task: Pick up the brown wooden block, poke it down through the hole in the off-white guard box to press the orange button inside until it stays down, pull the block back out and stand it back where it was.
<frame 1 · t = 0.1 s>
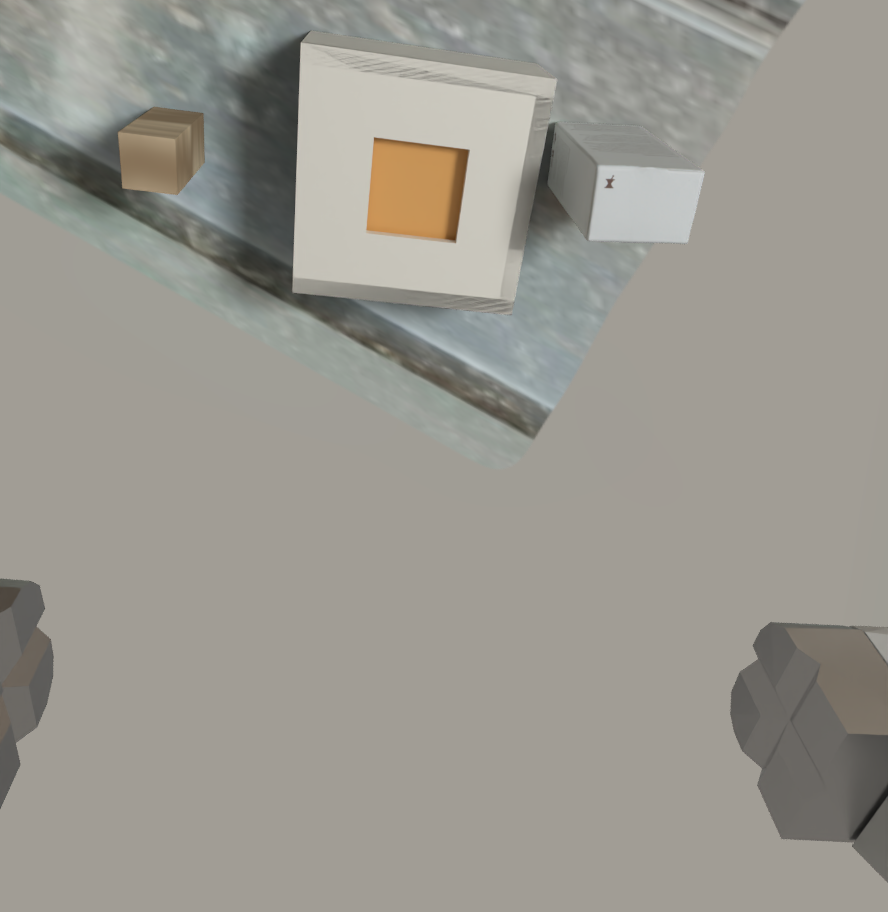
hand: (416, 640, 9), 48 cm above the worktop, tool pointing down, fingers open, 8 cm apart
guard box: (413, 164, 52), on the worktop
skincare box: (593, 155, 53), on the worktop
brown wooden block: (179, 135, 50), on the worktop
button: (415, 182, 48), point 5 cm above the worktop, slide at 0.0 cm
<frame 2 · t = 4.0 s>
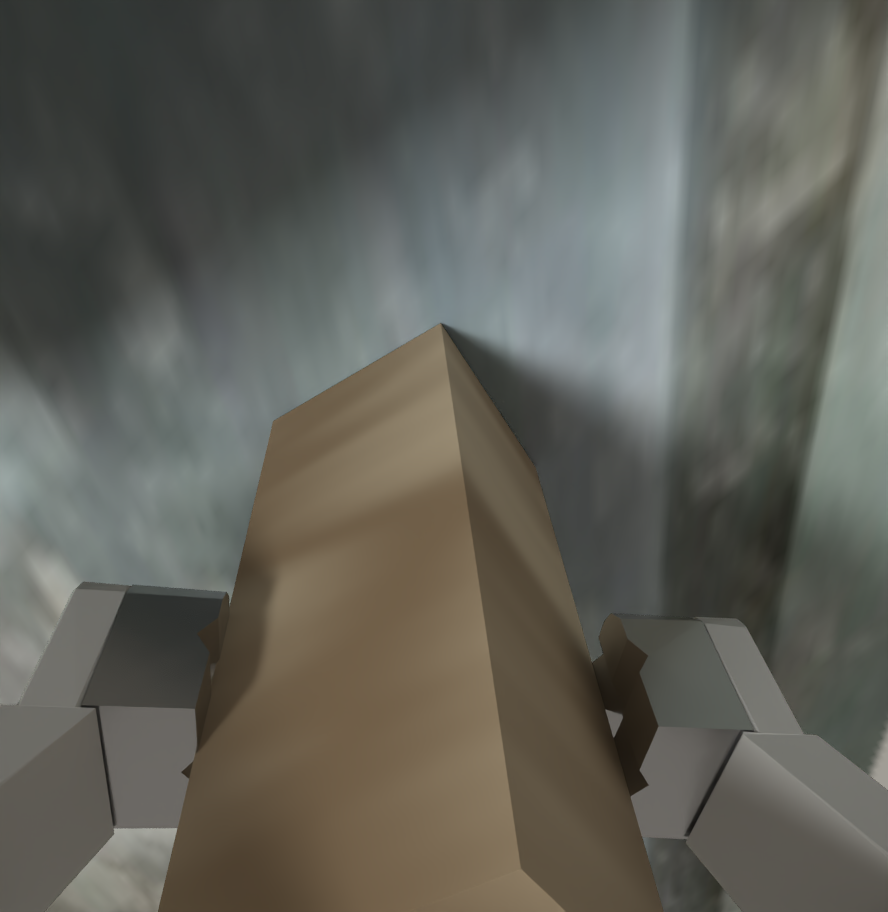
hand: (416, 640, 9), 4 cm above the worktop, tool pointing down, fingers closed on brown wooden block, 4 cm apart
brown wooden block: (408, 445, 12), on the worktop, touching gripper
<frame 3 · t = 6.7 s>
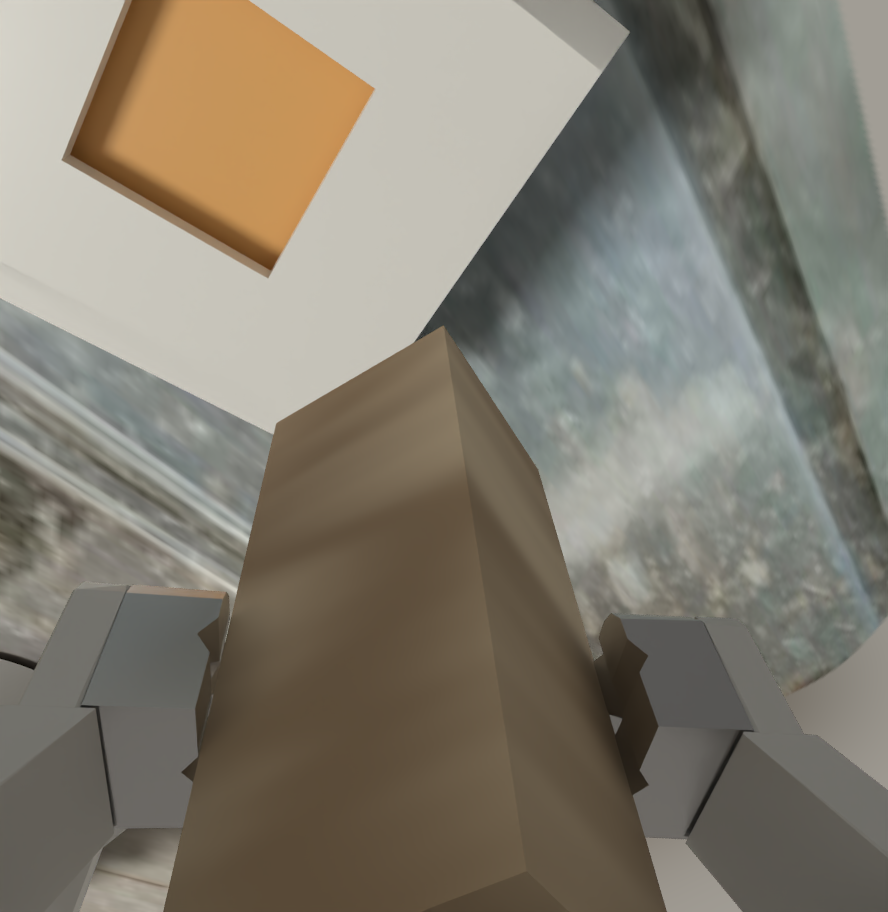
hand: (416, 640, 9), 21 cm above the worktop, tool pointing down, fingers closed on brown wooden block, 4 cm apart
guard box: (258, 82, 25), on the worktop
brown wooden block: (411, 447, 12), point 17 cm above the worktop, touching gripper
button: (233, 107, 21), point 5 cm above the worktop, slide at 0.0 cm
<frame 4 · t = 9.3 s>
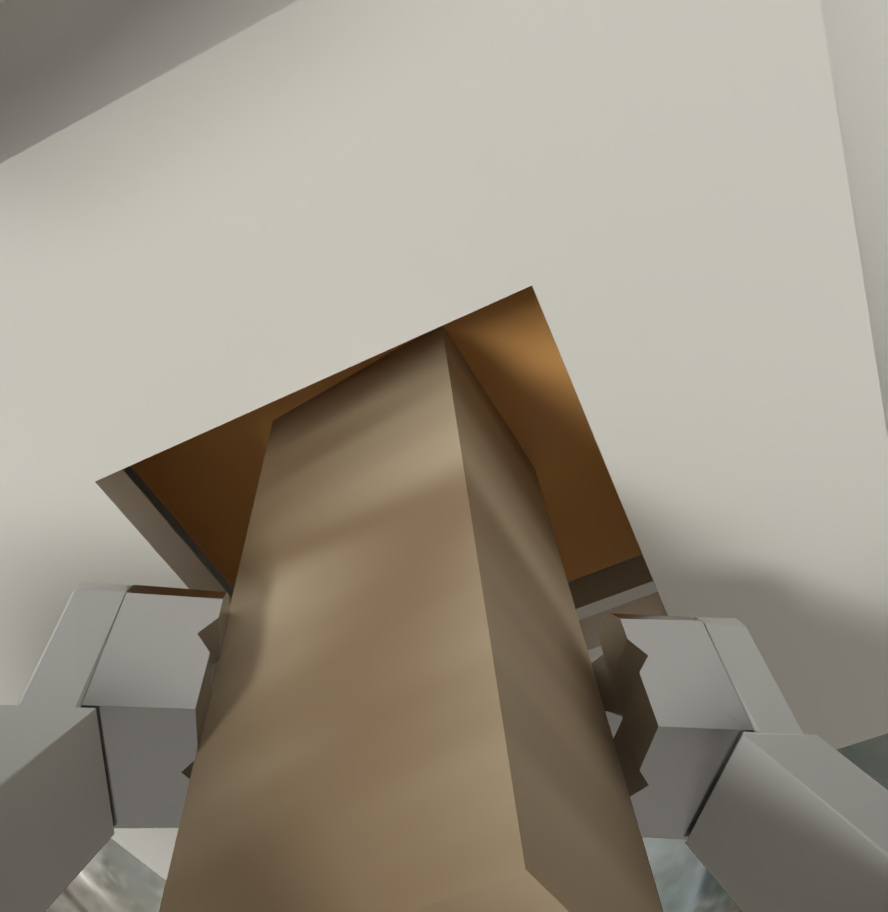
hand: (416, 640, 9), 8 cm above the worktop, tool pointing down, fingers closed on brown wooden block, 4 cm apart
guard box: (399, 332, 16), on the worktop
brown wooden block: (408, 445, 12), point 4 cm above the worktop, touching button, gripper
button: (402, 400, 14), point 3 cm above the worktop, slide at 1.7 cm, touching brown wooden block
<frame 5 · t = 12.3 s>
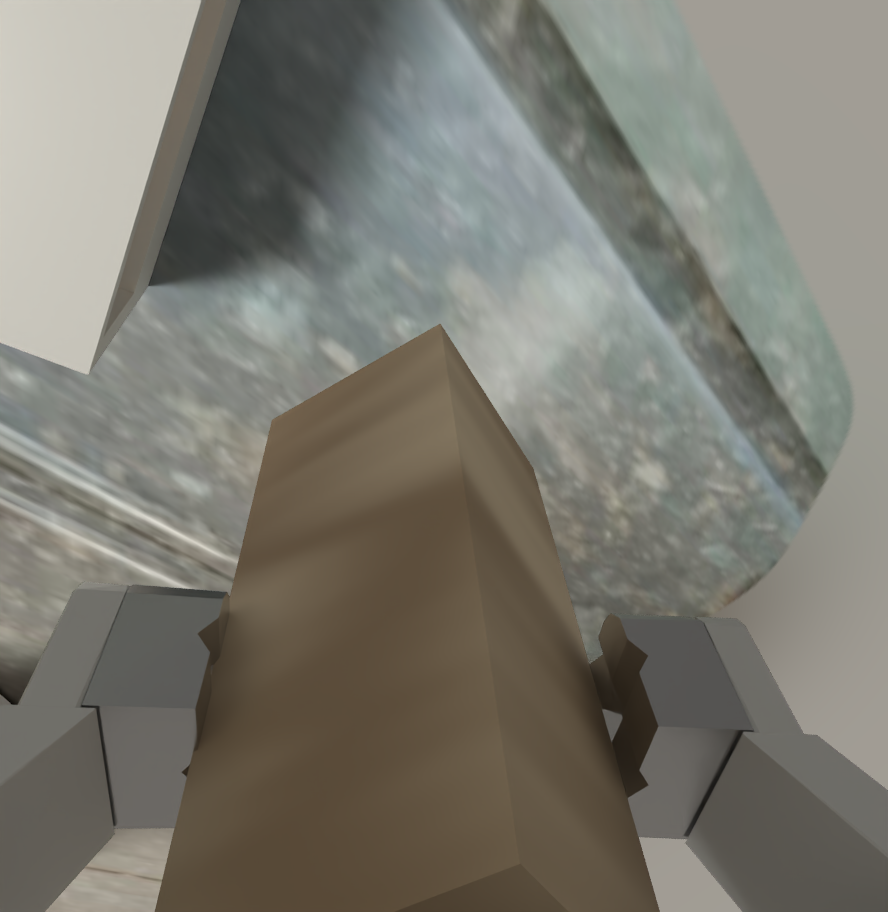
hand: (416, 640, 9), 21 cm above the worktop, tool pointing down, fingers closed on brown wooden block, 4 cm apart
brown wooden block: (406, 445, 12), point 17 cm above the worktop, touching gripper
when the fingers open (6 cm above the worktop, at t = 14.7 s): brown wooden block drops 1 cm, on the worktop.
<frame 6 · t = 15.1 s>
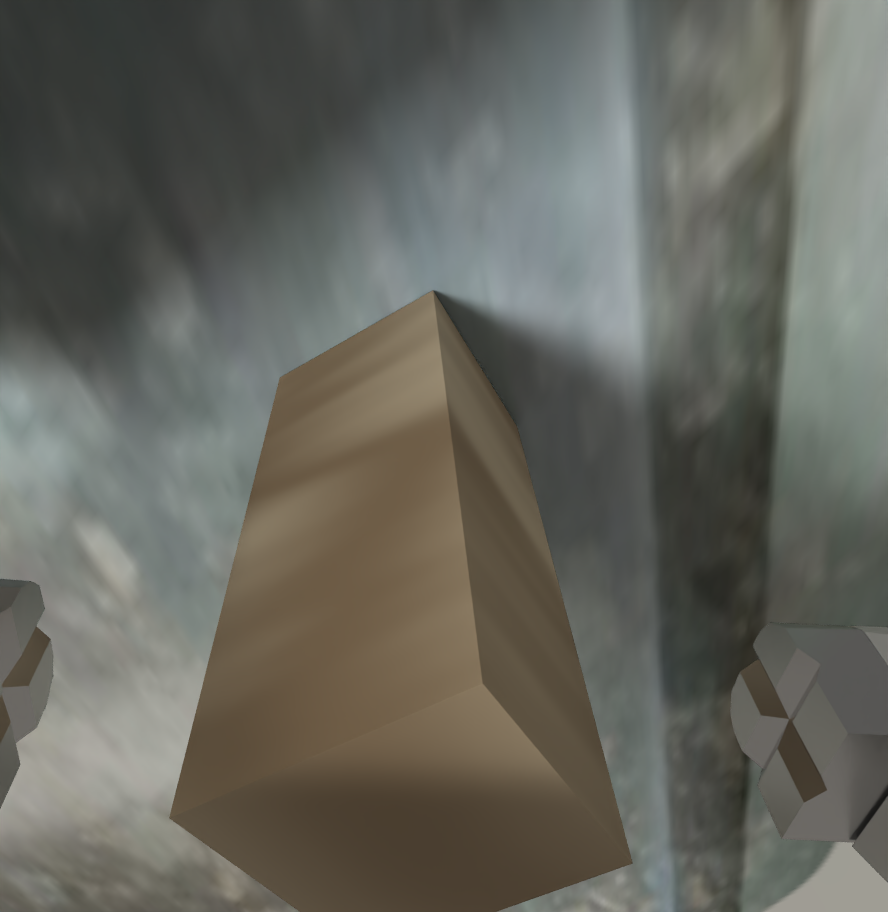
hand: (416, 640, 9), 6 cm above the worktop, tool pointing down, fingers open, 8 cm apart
brown wooden block: (401, 402, 14), on the worktop
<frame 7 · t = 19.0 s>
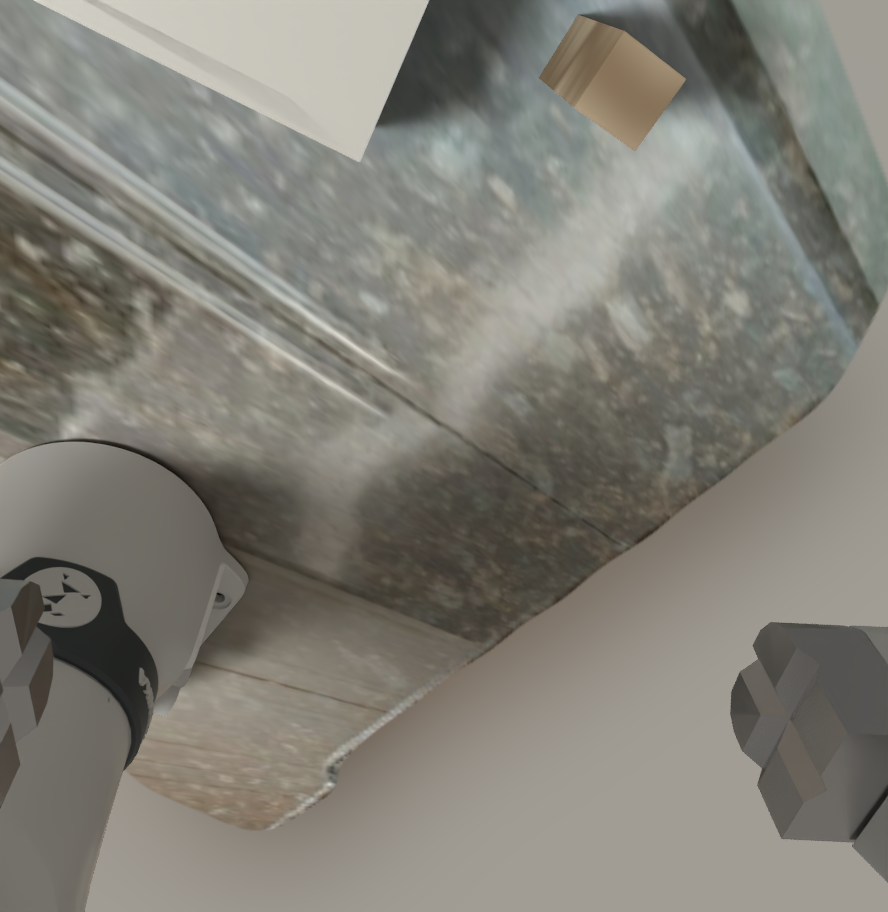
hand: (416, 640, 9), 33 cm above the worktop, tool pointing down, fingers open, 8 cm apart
brown wooden block: (584, 66, 36), on the worktop
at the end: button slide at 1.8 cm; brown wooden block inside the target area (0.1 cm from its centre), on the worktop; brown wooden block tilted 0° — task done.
